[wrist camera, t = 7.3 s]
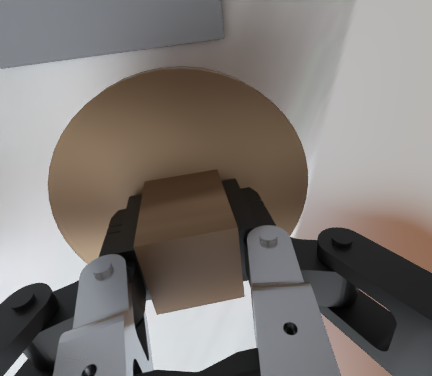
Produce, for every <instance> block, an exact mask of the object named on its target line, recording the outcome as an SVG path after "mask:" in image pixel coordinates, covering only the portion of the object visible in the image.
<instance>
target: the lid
mask: <svg viewBox="0 0 432 376" xmlns="http://www.w3.org/2000/svg"><path fill="white" fill-rule="evenodd" d="M233 178H236V180H237V182H238V185H239V187H240V189H241V188H247V187H250V188H252V189H253V190H255V191H256V192H258V194H259V196H260V198H261V200H262V201H263V203H264V205H265V206H266V208H267V210H268V212H269V214H270V215H271V217H272V219H273V221H274V222H275V224H276V226H277V227H280V228H282V229H284V230H285V231H286V232H288V234H289V235H291V234H292V232H293V230H294V228H295V227H296V225H297V223H298V221H299V218H300V216H301V214H302V211H303V208H304V204H305V200H306V195H307V188H308V169H307V163H306V157H305V153H304V150H303V147H302V144H301V141H300V139H299V137H298V135H297V133H296V131H295V129H294V127H293V126H292V125H291V123H290V122H289V120H288V119H287V118H286V116H285V115H284V114H283V113H282V112H281V111H280V110H279V108H278V107H277V106H276V105H275V104H274V103H273V102H272V101H270V100H269V99H268V98H266V97H265V96H264V95H262V94H261V93H260V92H258V91H257V90H255V89H254V88H252V87H250V86H249V85H247V84H245V83H243V82H241V81H239V80H238V79H236V78H233V77H231V76H228V75H225V74H222V73H220V72H216V71H212V70H207V69H203V68H194V67H166V68H158V69H153V70H149V71H144V72H140V73H138V74H135V75H132V76H130V77H127V78H124V79H122V80H120V81H119V82H117V83H115V84H113V85H111V86H110V87H108V88H106V89H105V90H104V91H102V92H101V93H100V94H98V95H97V96H96V97H95V98H93V99H92V100H91V101H90V102H88V103H87V104H86V105H85V106H84V107H83V108H82V109H81V110H80V111H79V112H78V113H77V114H76V115H75V116H74V117H73V118H72V120H71V121H70V123H69V124H68V126H67V127H66V128H65V130H64V131H63V133H62V134H61V136H60V139H59V141H58V143H57V145H56V147H55V149H54V152H53V156H52V160H51V163H50V167H49V178H48V191H49V201H50V205H51V209H52V214H53V216H54V219H55V221H56V224H57V226H58V229H59V230H60V232H61V234H62V235H63V237H64V239H65V240H66V242H67V243H68V244H69V246H70V247H71V248H72V249H73V250H74V252H75V253H76V254H77V255H78V256H79V257H80V258H81V259H82V260H83V261H84V262H86V263H87V264H89V263H90V262H92V261H93V260H95V259H96V258H98V257H99V254H100V251H101V248H102V245H103V242H104V239H105V236H106V232H107V229H108V228H109V227H108V226H109V223H110V220H111V218H112V217H113V215H114V214H115V213H116V212H117V211H118V210H121V209H126V207H127V203H128V199H129V196H134V195H140V194H142V199H141V205H140V211H139V217H138V223H137V229H136V234H135V240H134V246H133V247H134V250H135V253H136V256H137V259H138V262H139V265H140V267H141V270H142V273H143V276H144V279H145V282H146V285H147V288H148V290H149V293H150V296H151V299H152V302H153V305H154V308H155V311H156V313H157V315H158V314H163V313H168V312H173V311H177V310H182V309H187V308H192V307H197V306H202V305H207V304H212V303H217V302H221V301H226V300H231V299H236V298H241V297H244V287H243V276H242V266H241V255H240V245H239V234H238V226H237V224H236V221H235V218H234V215H233V212H232V210H231V207H230V204H229V201H228V198H227V196H226V193H225V190H224V187H223V184H222V182H221V181H222V180H228V179H233Z"/></svg>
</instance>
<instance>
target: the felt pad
mask: <svg viewBox="0 0 432 376" xmlns="http://www.w3.org/2000/svg"><path fill="white" fill-rule="evenodd" d="M217 39H224V28H223V17H222V5H221V0H0V68H1V69H3V68H10V67H17V66H25V65H32V64H40V63H47V62H54V61H62V60H69V59H76V58H84V57H91V56H99V55H106V54H113V53H121V52H128V51H136V50H143V49H150V48H158V47H165V46H172V45H180V44H187V43H195V42H202V41H209V40H217Z"/></svg>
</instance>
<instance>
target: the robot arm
mask: <svg viewBox="0 0 432 376" xmlns="http://www.w3.org/2000/svg"><path fill="white" fill-rule="evenodd" d="M221 182H222V184H223V187H224V190H225V193H226V196H227V198H228V201H229V204H230V207H231V210H232V212H233V215H234V218H235V221H236V224H237V226H238V234H239V245H240V255H241V266H242V276H243V281H247V280H248V281H249V284H250V287H251V298H252V308H253V319H254V330H255V340H256V348H254V349H249V350H245V351H240V352H237V353H235V354H233V355H231V356H229V357H227V358H225V359H224V360H222V361H220V362H218V363H216V364H214V365H212V366H210V367H208V368H206V369H204V370H202V371H200V372H182V371H166V370H154V369H153V363H152V355H151V347H150V339H149V332H148V324H147V317H146V314H145V303H146V300H151V296H150V293H149V290H148V288H147V285H146V282H145V279H144V276H143V273H142V270H141V267H140V265H139V262H138V259H137V256H136V253H135V250H134V247H133V246H134V240H135V234H136V229H137V223H138V217H139V211H140V205H141V199H142V194H140V195H134V196H129V199H128V203H127V207H126V209H121V210H118V211H117V212H116V213H115V214H114V215H113V217H112V218H111V220H110V223H109V226H108V227H109V228H108V229H107V232H106V236H105V239H104V242H103V245H102V248H101V251H100V254H99V257H98V258H96V259H95V260H93V261H92V262H90V263H89V264H88V265H87V266H86V267H85V268H84V269H83V270H82V272H81V274H80V278H79V281H77V282H75V283H73V284H70V285H68V286H66V287H63V288H61V289H59V290H56V291H54V292H53V291H52V290H51V288H50V287H49V286H48V285H47V284H44V283H35V284H31V285H28V286H25V287H23V288H21V289H19V290H18V291H16V292H14V293H13V294H12V295H10V296H9V297H8V298H7V299H6V300H5V301H3V302H2V303H1V304H0V376H3V375H4V374H5V373H6V372H7V371H8V369H9V368H10V367H11V366H12V365H13V364H14V362H15V361H16V360H17V359H18V358H19V356H20V355H21V354H22V353H24V354H25V355H26V357H27V358H28V359H27V361H26V362H25V363H24V364H23V365H22V367H21V368H20V369H19V370H18V372H17V373H16V374H15V375H14V376H341V374H340V370H339V368H338V364H337V361H336V359H335V355H334V352H333V349H332V346H331V343H330V340H329V337H328V334H327V331H326V328H325V325H324V322H323V319H322V316H321V313H322V314H323V315H324V316H325V317H326V318H327V319H329V320H330V321H331V322H332V323H333V324H334V325H335V326H337V327H338V328H339V329H340V330H341V331H342V332H343V333H345V335H347V336H348V337H349V338H350V339H351V340H352V341H353V342H355V343H356V344H357V345H358V346H359V347H360V348H361V349H363V350H364V351H365V352H366V353H367V354H368V355H370V356H371V357H372V358H373V359H374V360H375V361H376V362H377V363H379V364H380V365H381V366H382V367H383V368H384V369H385V370H386V371H388V372H389V373H390V374H391V375H392V376H432V273H430V272H429V271H427V270H425V269H423V268H421V267H419V266H417V265H415V264H414V263H412V262H410V261H408V260H406V259H404V258H403V257H401V256H399V255H397V254H395V253H393V252H392V251H390V250H388V249H386V248H384V247H382V246H380V245H378V244H376V243H375V242H373V241H371V240H369V239H367V238H365V237H364V236H362V235H360V234H358V233H356V232H354V231H352V230H349V229H345V228H329V229H325V230H323V231H322V232H321V233H320V234H319V236H318V240H301V239H295V238H291V237H290V235H289V234H288V232H286V231H285V230H284V229H282V228H280V227H277V226H276V224H275V222H274V221H273V219H272V217H271V215H270V214H269V212H268V210H267V208H266V206H265V205H264V203H263V201H262V200H261V198H260V196H259V194H258V192H256V191H255V190H253V189H252V188H250V187H247V188H241V189H240V187H239V185H238V182H237V180H236V178H233V179H228V180H222V181H221ZM359 289H360V290H362V291H363V292H365V293H366V294H367V295H369V296H370V297H372V298H373V299H375V300H376V301H377V302H379V303H380V304H382V305H383V306H384V307H386V308H387V309H388V310H389V311H390V312H389V311H388V310H387V309H385V308H384V307H382V306H381V305H379V304H378V303H377V302H375V301H374V300H372V299H371V298H370V297H368V296H367V295H365V294H364V293H363V292H361V291H360V290H359Z"/></svg>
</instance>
